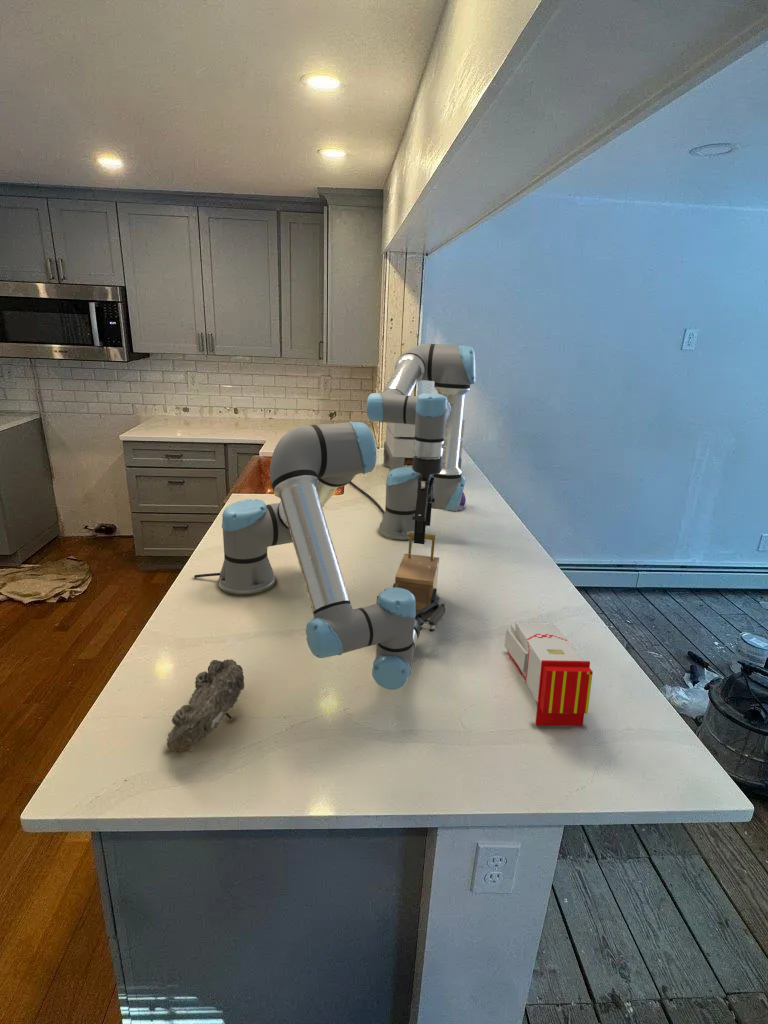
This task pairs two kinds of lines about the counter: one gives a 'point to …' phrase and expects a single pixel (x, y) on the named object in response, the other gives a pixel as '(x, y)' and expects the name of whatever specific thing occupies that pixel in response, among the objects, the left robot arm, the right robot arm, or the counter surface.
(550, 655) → the toy
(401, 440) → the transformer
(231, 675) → the fossil
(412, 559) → the lid
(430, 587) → the chest
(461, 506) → the figurine
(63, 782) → the counter surface
